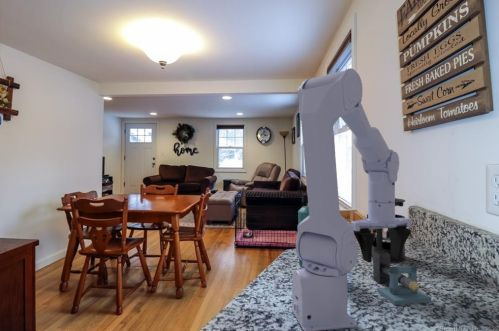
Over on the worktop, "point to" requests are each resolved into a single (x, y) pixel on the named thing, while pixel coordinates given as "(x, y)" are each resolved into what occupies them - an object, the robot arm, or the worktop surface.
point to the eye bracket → (402, 287)
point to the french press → (387, 238)
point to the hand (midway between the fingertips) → (381, 259)
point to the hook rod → (383, 271)
